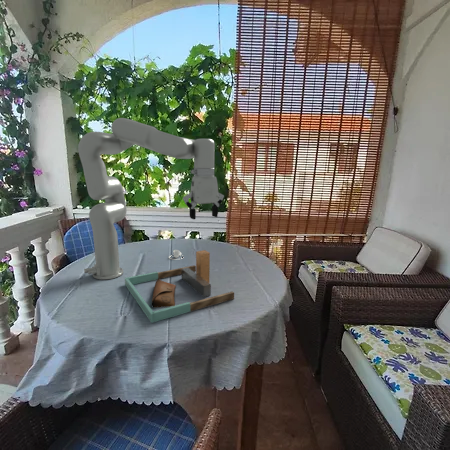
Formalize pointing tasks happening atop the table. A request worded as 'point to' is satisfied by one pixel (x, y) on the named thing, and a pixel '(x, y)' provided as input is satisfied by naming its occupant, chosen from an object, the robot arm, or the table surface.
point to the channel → (199, 303)
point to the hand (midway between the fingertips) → (204, 217)
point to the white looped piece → (176, 254)
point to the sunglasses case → (163, 294)
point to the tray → (147, 310)
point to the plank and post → (199, 274)
